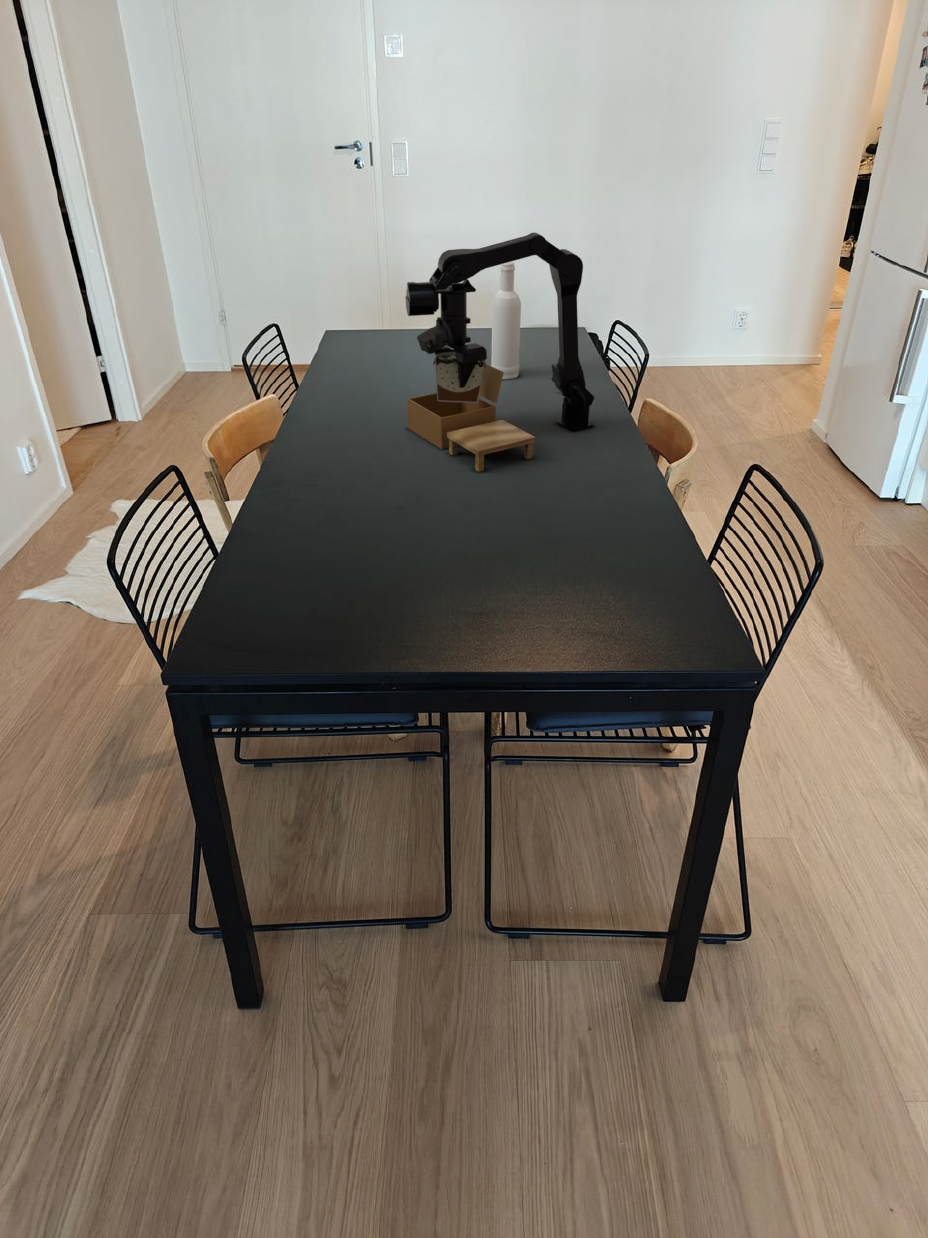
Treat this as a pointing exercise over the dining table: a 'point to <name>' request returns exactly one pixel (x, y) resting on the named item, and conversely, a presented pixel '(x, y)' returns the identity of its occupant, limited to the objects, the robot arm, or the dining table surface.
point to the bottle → (506, 325)
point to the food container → (456, 380)
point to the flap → (491, 383)
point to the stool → (490, 440)
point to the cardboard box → (445, 417)
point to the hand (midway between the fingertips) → (454, 383)
